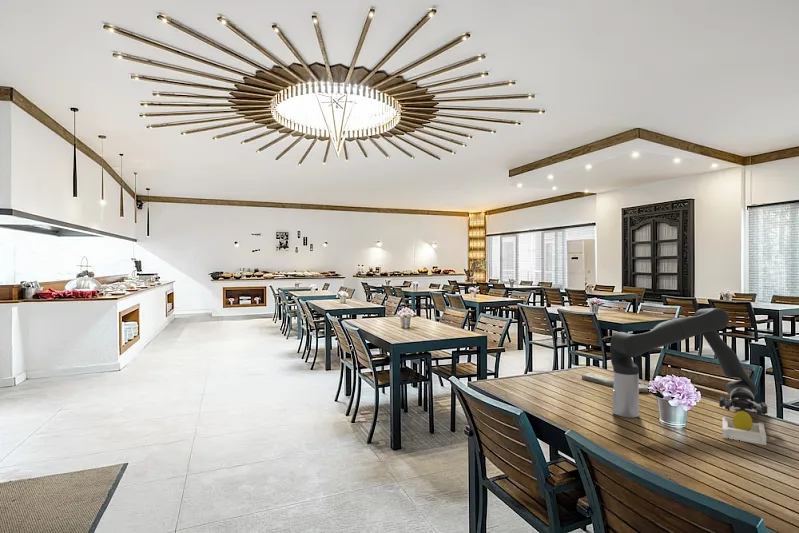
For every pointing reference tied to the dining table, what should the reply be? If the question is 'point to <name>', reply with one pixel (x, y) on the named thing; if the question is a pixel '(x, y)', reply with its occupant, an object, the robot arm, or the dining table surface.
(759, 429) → the tray
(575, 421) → the dining table surface
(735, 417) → the lemon
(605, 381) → the elongated rock
